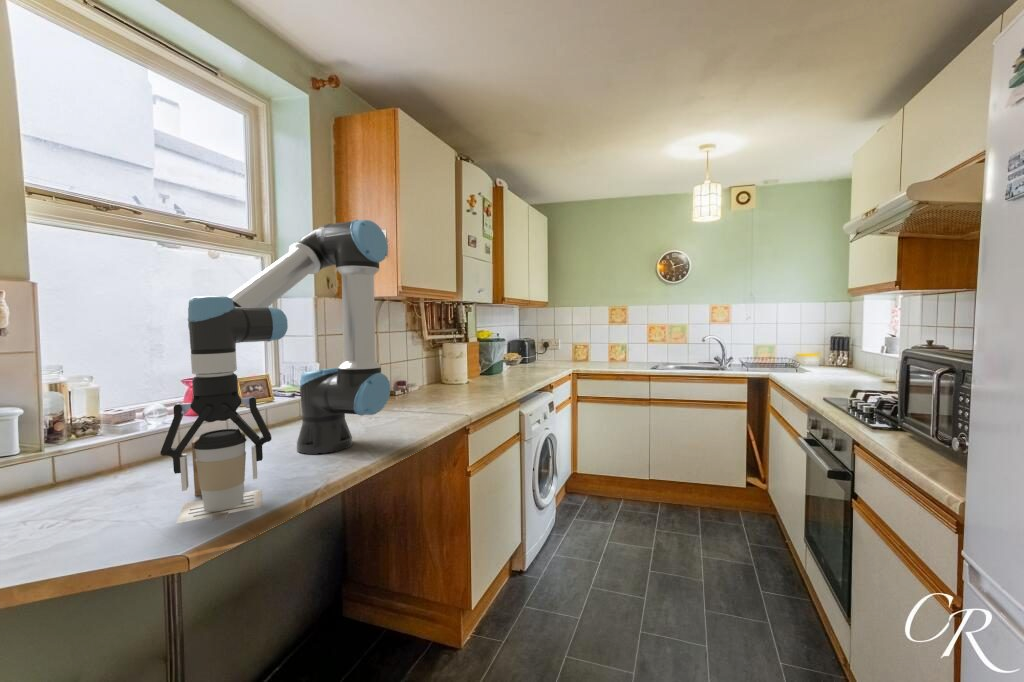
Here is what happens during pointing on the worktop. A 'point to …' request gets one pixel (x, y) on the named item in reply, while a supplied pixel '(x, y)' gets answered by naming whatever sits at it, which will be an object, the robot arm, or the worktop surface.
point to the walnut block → (195, 470)
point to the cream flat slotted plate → (197, 511)
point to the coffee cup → (221, 468)
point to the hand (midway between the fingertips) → (221, 482)
